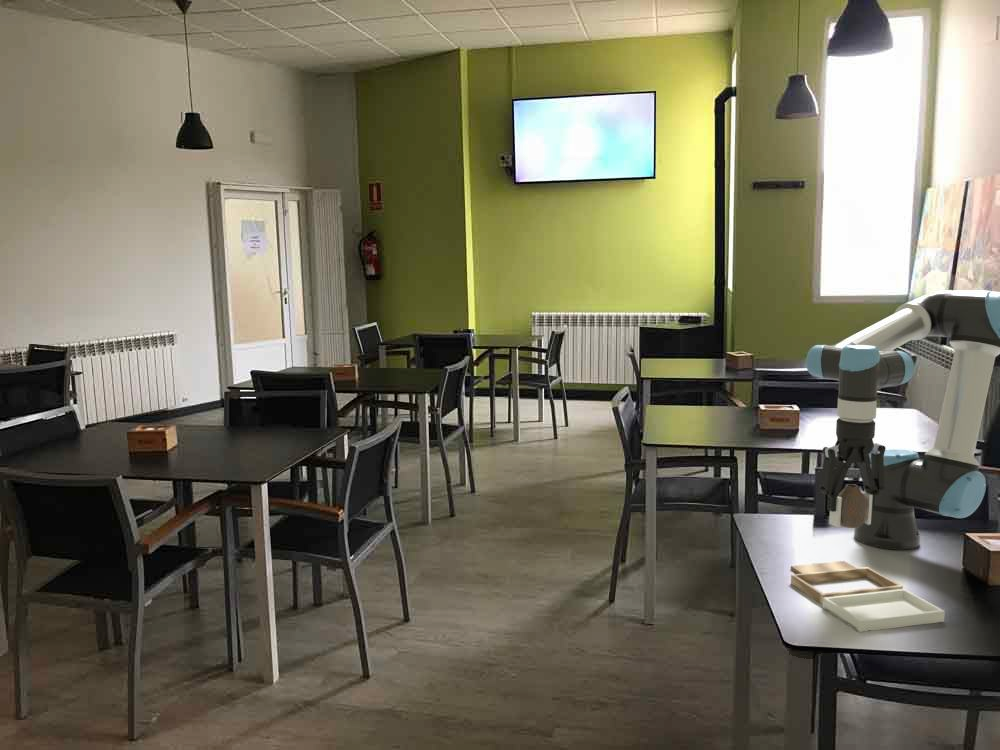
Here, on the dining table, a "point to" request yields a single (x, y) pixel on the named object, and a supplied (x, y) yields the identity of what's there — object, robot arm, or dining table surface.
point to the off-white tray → (882, 610)
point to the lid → (821, 567)
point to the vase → (853, 507)
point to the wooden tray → (805, 578)
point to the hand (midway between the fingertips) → (849, 523)
